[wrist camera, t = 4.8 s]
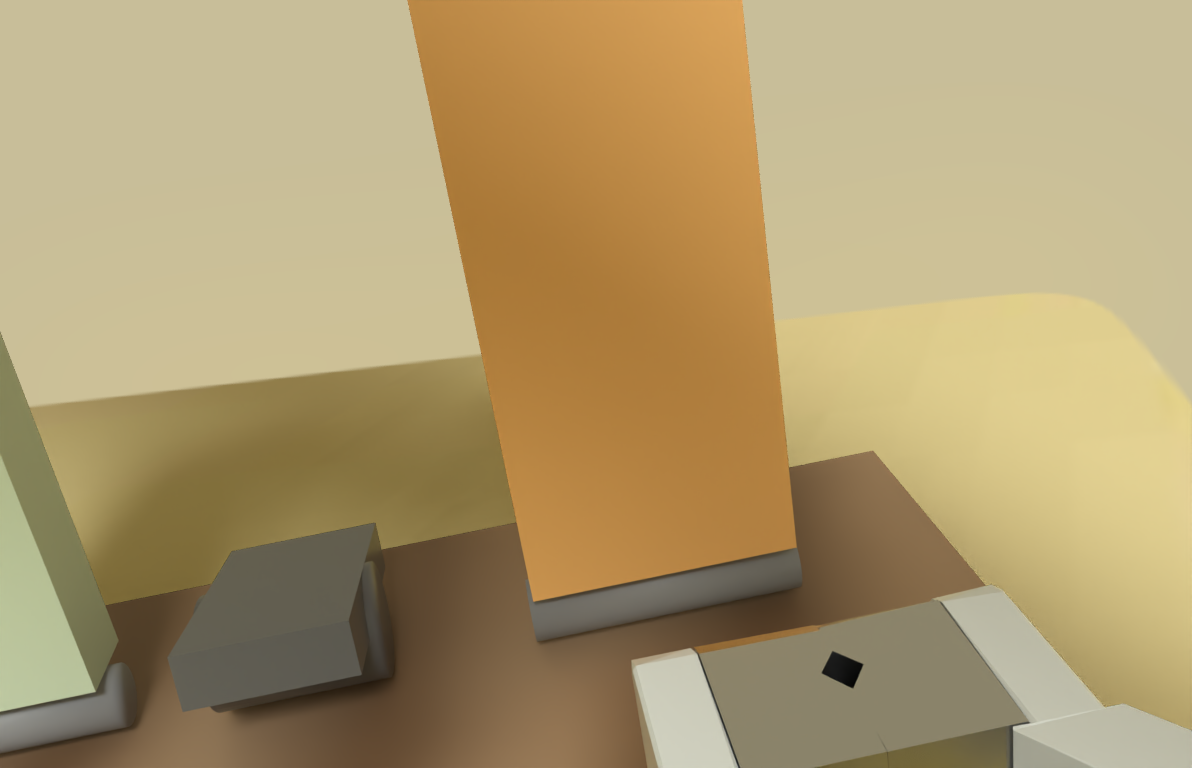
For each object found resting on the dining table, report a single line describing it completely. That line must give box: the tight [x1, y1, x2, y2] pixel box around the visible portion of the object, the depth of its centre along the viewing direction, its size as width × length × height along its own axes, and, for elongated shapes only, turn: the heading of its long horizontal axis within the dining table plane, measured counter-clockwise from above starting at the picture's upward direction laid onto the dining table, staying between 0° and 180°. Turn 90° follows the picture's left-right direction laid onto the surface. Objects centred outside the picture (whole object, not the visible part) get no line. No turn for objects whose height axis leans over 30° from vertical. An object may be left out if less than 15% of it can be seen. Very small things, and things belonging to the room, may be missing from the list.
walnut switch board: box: [0, 451, 985, 768], centre depth 22 cm, size 24×10×2 cm, turn 97°
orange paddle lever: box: [408, 0, 802, 642], centre depth 20 cm, size 5×2×13 cm, turn 97°
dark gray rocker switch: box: [167, 523, 394, 713], centre depth 21 cm, size 3×5×2 cm, turn 7°
